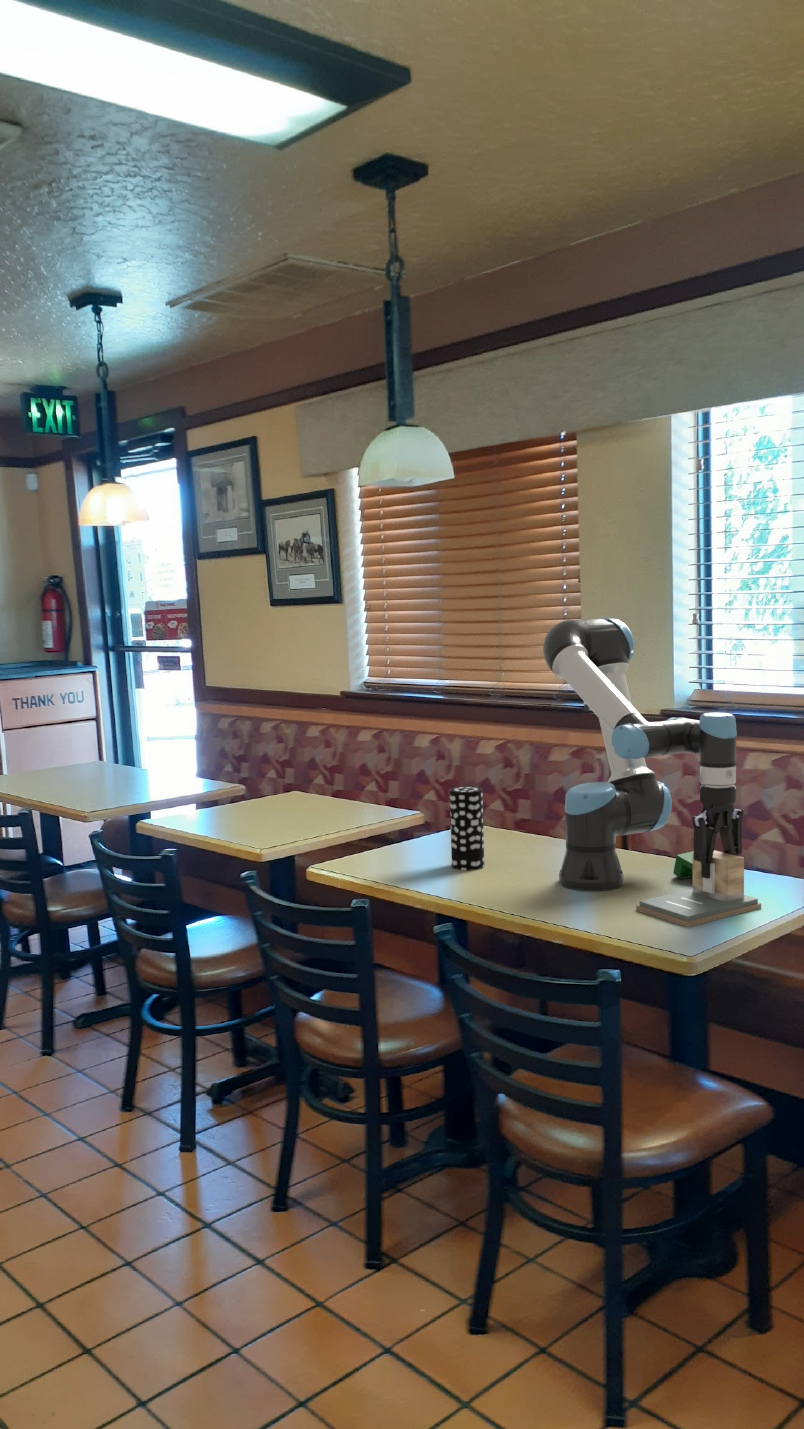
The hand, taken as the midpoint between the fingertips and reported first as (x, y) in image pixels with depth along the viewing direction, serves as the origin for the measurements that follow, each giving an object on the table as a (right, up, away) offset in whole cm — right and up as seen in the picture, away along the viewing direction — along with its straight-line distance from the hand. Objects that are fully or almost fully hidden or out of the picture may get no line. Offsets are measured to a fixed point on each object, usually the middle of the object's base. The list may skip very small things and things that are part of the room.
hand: (717, 889), depth 234 cm
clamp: (+3, -1, +23) cm, 23 cm away
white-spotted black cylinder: (-52, -1, +40) cm, 66 cm away
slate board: (-5, -4, -3) cm, 7 cm away
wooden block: (0, -1, 0) cm, 1 cm away
